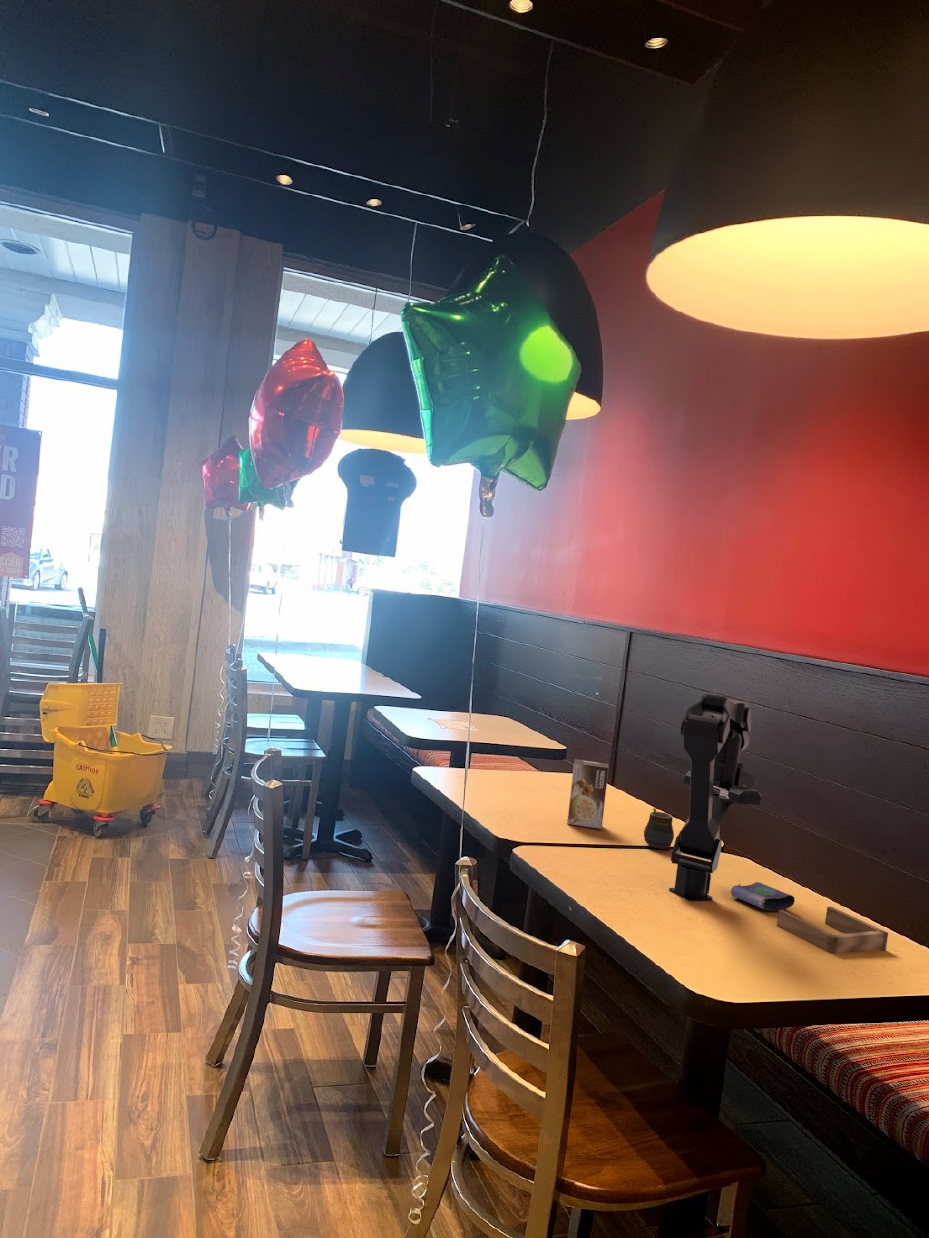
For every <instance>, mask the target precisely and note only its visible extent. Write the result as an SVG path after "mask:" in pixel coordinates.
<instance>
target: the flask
mask: <svg viewBox="0 0 929 1238" xmlns="http://www.w3.org/2000/svg"><path fill="white" fill-rule="evenodd" d="M730 895H731V896H732V897H733V898H737V899H739V900H741V901H743V902H745V903H748V904H751V905H753V906H754V907H757V908H760V909H762V910H765V911H768V912H776V911H779V910H784V911H785V910H787V909H790V908H791V907H793V906H794V904H795V902H796V900H795V897H794V896H793V895H791V894H789V893H786V892H784V891H781V890H779V889H777V888H773V887H771V886H769V885H766V884H764V883H762V882H758V881H755V882H754V883H751V884H747V885H741V883H739V884H735V885H732V887H731V890H730Z"/></svg>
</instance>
